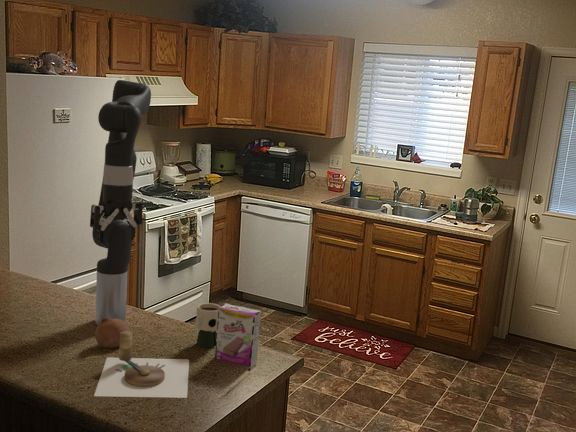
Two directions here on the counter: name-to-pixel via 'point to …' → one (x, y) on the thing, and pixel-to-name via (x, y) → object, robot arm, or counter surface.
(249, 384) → the counter surface
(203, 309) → the character mug
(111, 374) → the dial panel
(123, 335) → the tuning dial
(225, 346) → the candy bar box
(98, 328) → the onion
